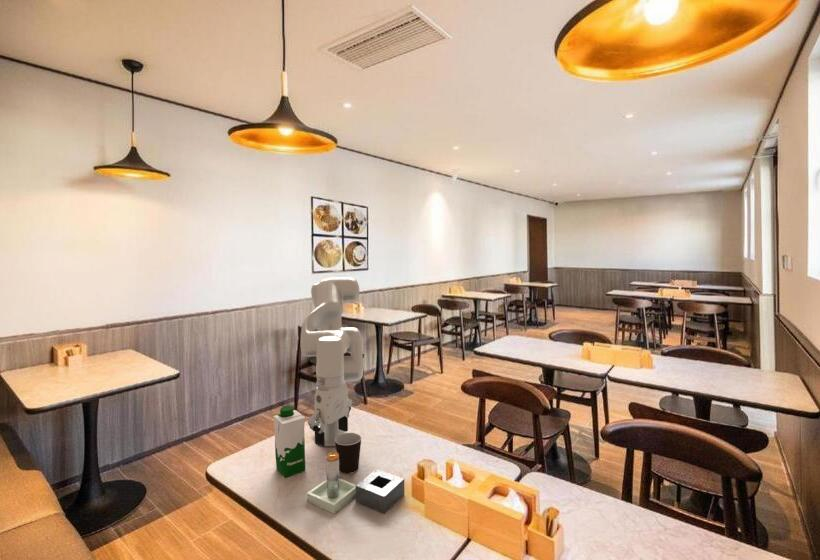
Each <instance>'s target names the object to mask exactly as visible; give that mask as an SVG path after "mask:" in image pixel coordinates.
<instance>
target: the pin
mask: <svg viewBox="0 0 820 560" xmlns="http://www.w3.org/2000/svg"><path fill="white" fill-rule="evenodd" d="M339 478H340V471H339V454H338V453H337V452H336V451H331V452H329V453H327V454H326V479H327V497H328V498H330V499H335V498H337V497H339V495H340V490H339Z"/></svg>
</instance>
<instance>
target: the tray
mask: <svg viewBox="0 0 820 560" xmlns="http://www.w3.org/2000/svg"><path fill="white" fill-rule="evenodd" d="M356 485H357V484H355V483H353V482H351V481H350V482H349V481H347V480H345V479H342V478H340V477H339V490H340V495H339V497H337V498H335V499H330V498H328V497H327V478H326V479H325V480H323V481H322V482H321V483H319V484H317V485H316V486H314V488H312V489H310V490H309V491H308V492H306V502H307V503H308V504H309V503H310V504H312V505H314V506H315V507H316V506H317V507H318V508H321V509H322V510H325V511H327V512H329V513H331V514H334V515H335V514H336V513H337V512H339V511H340V510H341V509H342V508H343V507H344V506H346V505H348V503H350V502H351V501H352V500H353V499H354V498H356Z"/></svg>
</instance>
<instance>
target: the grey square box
mask: <svg viewBox="0 0 820 560" xmlns="http://www.w3.org/2000/svg"><path fill="white" fill-rule="evenodd" d="M355 485H356V497H355V503H357V504H359V505H362V506H364V507H366V508H369V509H370V510H374V511H375V512H378V513H380V514H384V515H386V514H387V513H388V512H389V511H390V510H391V509H392V508H393V507H395V505H396V504H397V503H398V502H399V501H400V500H401V499H402V498H403V497H404V496H405V478H404V477H401V476H398V475H395V474H392V473H390V472H387V471H383V470H381V469H378V468H375V470H373V471H372V472H371V473H369V474H368V475H367V476H366V477H365V478H363V479H362V480H361V481H359V482H358V483H357V484H355Z"/></svg>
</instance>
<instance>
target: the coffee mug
mask: <svg viewBox="0 0 820 560" xmlns="http://www.w3.org/2000/svg"><path fill="white" fill-rule="evenodd" d="M361 445H362V436H361V435H360V434H358V433H355V432H348V433H344V434H341V435H339V436H337V437H336V438H335V446H334V447H335V452H337V453H338V454H339V473H342V474H346V475H348V474H354V473H355V472H357V471H358V470H359V463H360V455H361V454H360V453H361Z"/></svg>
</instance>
